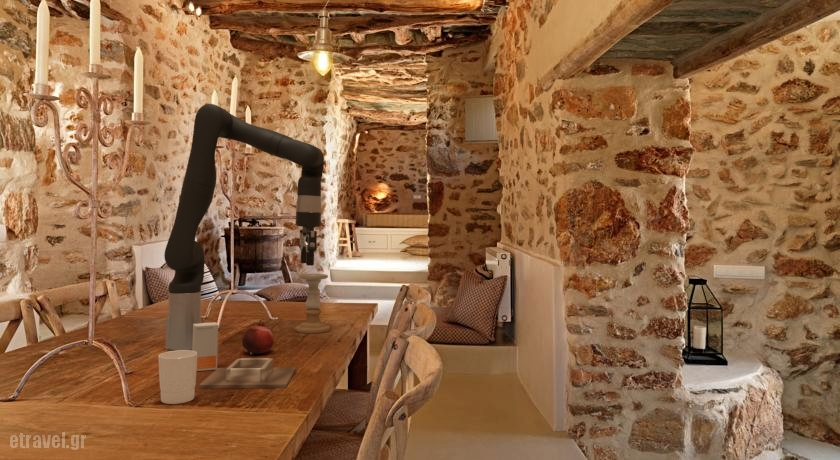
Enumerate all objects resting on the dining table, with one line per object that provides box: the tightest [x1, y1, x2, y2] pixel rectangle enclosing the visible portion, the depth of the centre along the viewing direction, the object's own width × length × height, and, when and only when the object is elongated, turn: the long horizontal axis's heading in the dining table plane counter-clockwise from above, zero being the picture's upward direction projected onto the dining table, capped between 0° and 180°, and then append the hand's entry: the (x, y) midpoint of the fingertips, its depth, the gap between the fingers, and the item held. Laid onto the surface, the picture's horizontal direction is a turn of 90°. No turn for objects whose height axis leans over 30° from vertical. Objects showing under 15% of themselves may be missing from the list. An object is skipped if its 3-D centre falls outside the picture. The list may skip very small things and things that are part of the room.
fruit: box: [241, 320, 275, 356], centre depth 168 cm, size 9×10×10 cm
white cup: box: [157, 349, 198, 405], centre depth 124 cm, size 8×8×10 cm
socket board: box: [198, 357, 297, 390], centre depth 140 cm, size 20×16×4 cm
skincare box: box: [191, 321, 219, 372], centre depth 149 cm, size 6×4×12 cm
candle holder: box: [295, 273, 331, 334], centre depth 205 cm, size 12×12×20 cm
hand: (307, 264), depth 172 cm, fingers open, 8 cm apart
